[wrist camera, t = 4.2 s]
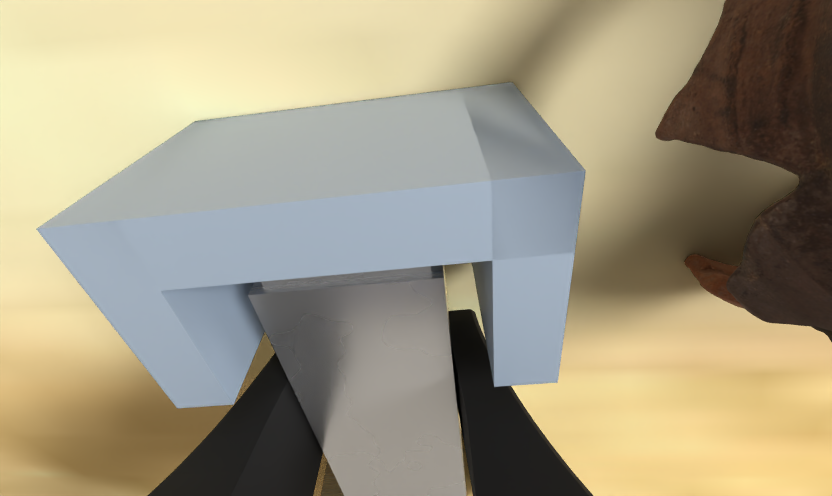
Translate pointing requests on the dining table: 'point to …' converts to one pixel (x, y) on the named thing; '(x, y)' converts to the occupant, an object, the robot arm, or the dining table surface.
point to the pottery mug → (770, 151)
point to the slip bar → (372, 375)
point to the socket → (330, 226)
